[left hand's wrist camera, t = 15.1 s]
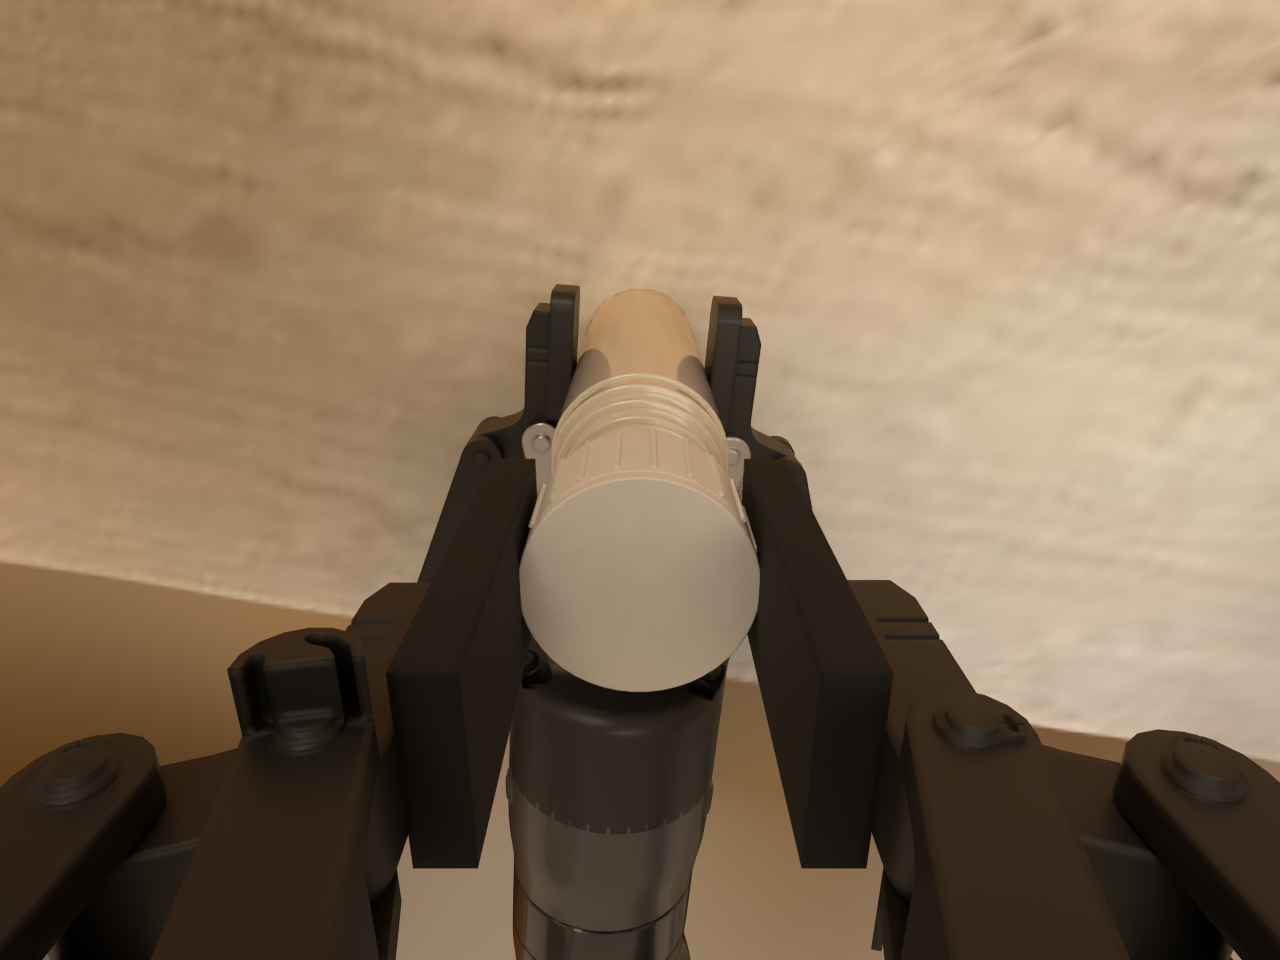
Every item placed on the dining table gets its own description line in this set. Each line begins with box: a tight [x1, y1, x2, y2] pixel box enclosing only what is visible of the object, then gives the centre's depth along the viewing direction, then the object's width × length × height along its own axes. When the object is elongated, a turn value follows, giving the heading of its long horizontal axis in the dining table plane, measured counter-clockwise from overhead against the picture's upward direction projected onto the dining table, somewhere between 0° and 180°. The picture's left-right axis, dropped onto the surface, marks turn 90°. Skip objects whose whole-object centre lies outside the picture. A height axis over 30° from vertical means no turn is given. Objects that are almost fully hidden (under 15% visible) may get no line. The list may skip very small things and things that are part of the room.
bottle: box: [551, 289, 729, 475], centre depth 22 cm, size 4×4×19 cm
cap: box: [519, 430, 760, 692], centre depth 13 cm, size 4×4×2 cm
